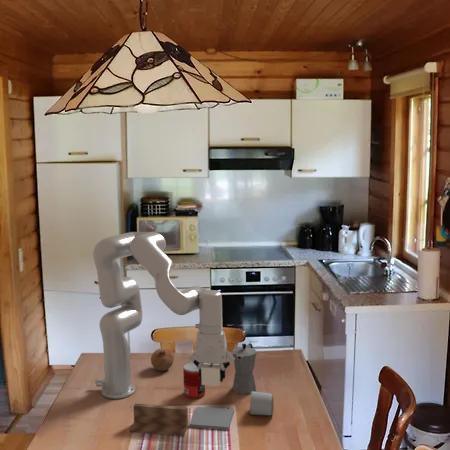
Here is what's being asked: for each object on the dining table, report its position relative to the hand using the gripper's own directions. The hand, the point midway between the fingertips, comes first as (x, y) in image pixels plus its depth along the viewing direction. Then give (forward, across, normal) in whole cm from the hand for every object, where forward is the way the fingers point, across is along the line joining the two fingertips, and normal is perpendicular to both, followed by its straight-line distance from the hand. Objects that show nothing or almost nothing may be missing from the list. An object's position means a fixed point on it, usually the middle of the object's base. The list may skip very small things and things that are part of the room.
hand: (212, 379), depth 183 cm
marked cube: (+1, 0, 0) cm, 1 cm away
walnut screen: (+14, -16, -9) cm, 23 cm away
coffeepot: (+15, +8, +25) cm, 30 cm away
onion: (+14, -28, +37) cm, 49 cm away
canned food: (+15, -10, +17) cm, 25 cm away
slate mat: (+14, 0, 0) cm, 14 cm away
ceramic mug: (+15, +16, +8) cm, 23 cm away
